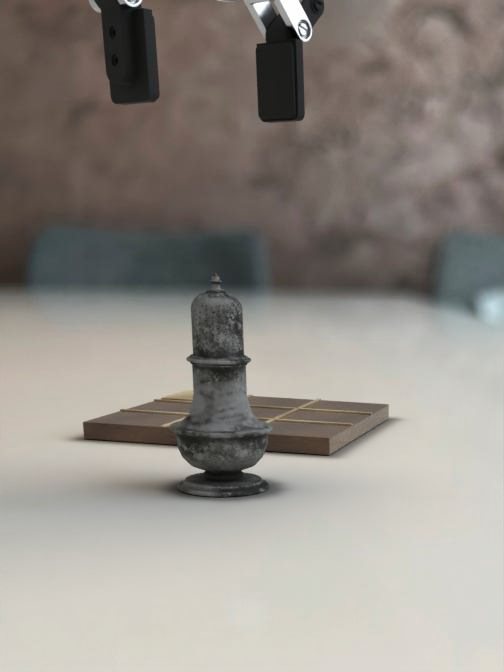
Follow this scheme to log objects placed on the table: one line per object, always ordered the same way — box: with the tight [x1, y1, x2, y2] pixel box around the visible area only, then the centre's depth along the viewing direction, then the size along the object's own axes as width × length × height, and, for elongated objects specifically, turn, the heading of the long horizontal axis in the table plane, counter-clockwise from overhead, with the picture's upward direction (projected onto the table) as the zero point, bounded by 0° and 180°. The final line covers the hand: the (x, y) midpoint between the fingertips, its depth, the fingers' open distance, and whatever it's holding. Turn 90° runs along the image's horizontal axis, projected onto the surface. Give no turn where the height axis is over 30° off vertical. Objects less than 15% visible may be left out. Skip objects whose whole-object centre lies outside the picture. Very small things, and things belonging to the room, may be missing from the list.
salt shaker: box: [169, 273, 273, 498], centre depth 63 cm, size 6×6×12 cm
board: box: [82, 389, 390, 456], centre depth 85 cm, size 18×18×1 cm
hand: (212, 112), depth 59 cm, fingers open, 9 cm apart
